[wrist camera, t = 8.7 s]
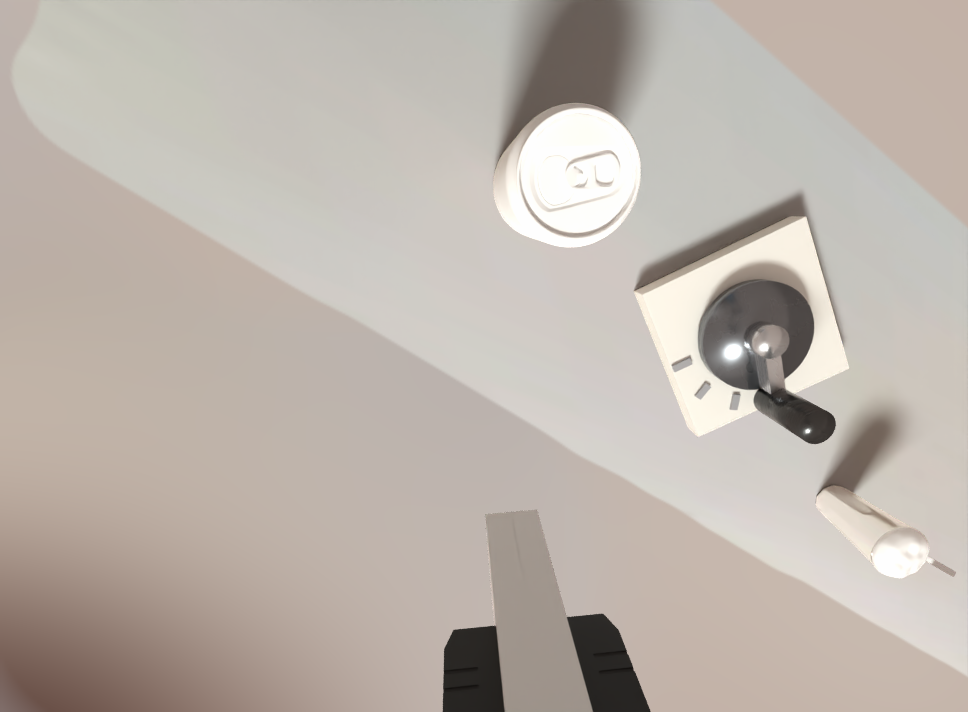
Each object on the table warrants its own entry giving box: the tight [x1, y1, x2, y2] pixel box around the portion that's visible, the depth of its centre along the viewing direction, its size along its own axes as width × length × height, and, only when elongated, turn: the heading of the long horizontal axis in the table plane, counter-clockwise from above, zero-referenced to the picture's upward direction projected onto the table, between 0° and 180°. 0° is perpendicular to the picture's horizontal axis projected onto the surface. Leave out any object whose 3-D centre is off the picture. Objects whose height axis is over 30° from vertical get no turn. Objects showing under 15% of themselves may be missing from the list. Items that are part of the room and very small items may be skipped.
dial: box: [698, 279, 836, 444], centre depth 39 cm, size 11×9×7 cm
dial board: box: [634, 216, 849, 437], centre depth 43 cm, size 14×14×2 cm
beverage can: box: [493, 103, 641, 247], centre depth 35 cm, size 8×8×12 cm
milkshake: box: [815, 485, 956, 578], centre depth 45 cm, size 4×5×10 cm
